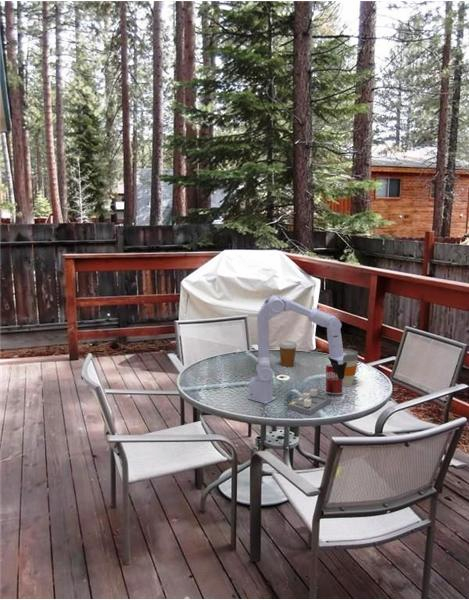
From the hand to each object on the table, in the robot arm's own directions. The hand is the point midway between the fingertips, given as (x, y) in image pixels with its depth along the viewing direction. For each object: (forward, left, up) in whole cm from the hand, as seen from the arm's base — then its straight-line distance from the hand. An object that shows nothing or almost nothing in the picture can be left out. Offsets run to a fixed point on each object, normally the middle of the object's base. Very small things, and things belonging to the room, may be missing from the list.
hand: (339, 375), depth 201 cm
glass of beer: (-43, +29, -11) cm, 53 cm away
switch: (-7, -14, -8) cm, 18 cm away
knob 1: (-3, -20, -8) cm, 22 cm away
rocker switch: (-7, -8, -8) cm, 14 cm away
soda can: (-4, +5, -10) cm, 12 cm away
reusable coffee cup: (-8, +22, -11) cm, 26 cm away
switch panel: (-6, -14, -11) cm, 19 cm away
